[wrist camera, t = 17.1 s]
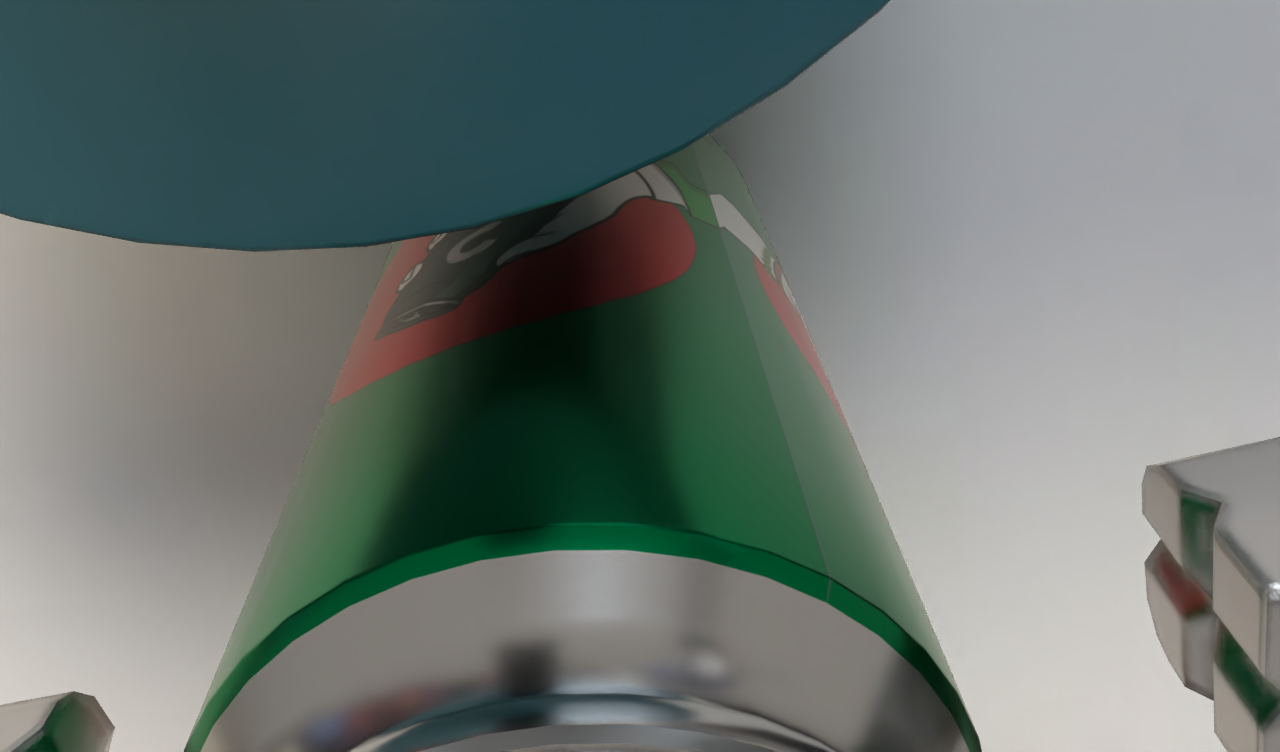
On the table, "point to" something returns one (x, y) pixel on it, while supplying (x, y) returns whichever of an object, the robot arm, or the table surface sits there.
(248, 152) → the pan lid
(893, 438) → the table surface
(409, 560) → the soda can
